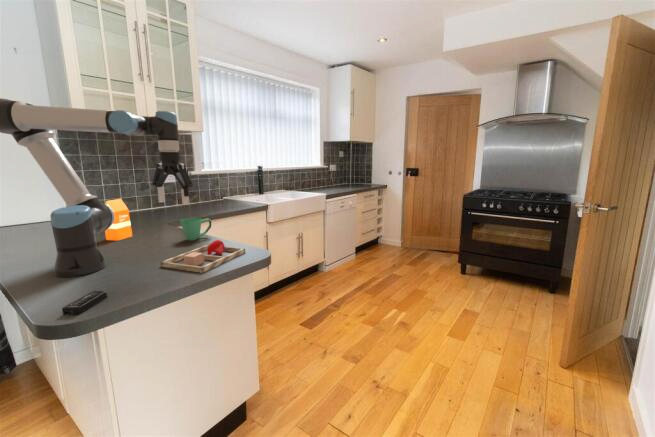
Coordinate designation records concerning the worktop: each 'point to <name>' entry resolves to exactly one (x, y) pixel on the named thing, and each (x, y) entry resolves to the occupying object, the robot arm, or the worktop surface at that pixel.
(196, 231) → the mug
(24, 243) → the worktop surface
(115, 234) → the orange juice
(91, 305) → the multiport hub
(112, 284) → the worktop surface
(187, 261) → the block
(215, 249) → the red rounded oval lump
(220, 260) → the rack
